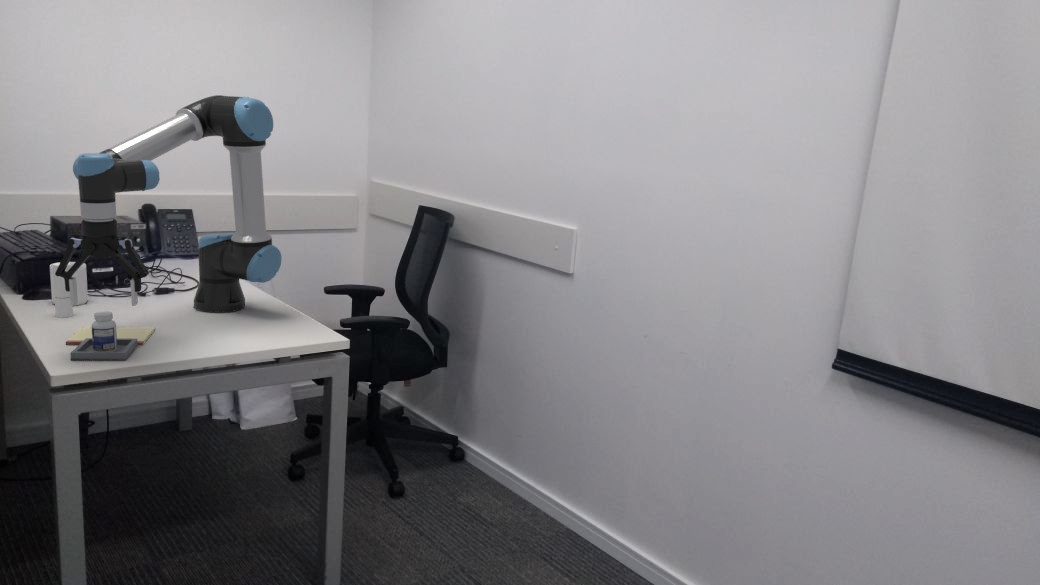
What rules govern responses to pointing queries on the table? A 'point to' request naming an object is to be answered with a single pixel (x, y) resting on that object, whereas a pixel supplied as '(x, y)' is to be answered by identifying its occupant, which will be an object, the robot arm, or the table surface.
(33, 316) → the table surface
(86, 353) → the tray
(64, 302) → the tube
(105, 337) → the pill bottle
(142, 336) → the notepad
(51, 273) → the mug
